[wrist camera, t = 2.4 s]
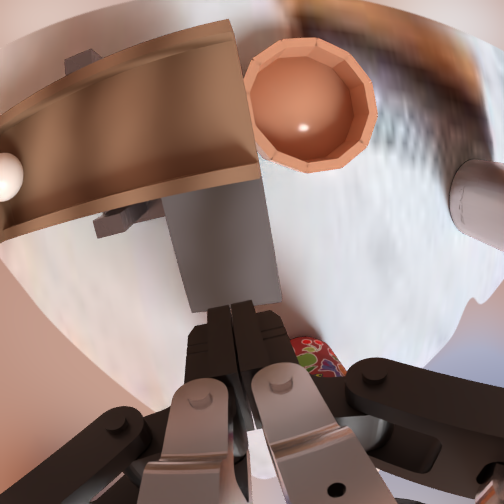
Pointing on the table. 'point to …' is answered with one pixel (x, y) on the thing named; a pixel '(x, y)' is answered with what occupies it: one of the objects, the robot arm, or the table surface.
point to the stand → (126, 215)
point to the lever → (154, 158)
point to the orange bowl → (309, 105)
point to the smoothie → (317, 358)
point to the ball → (10, 176)
